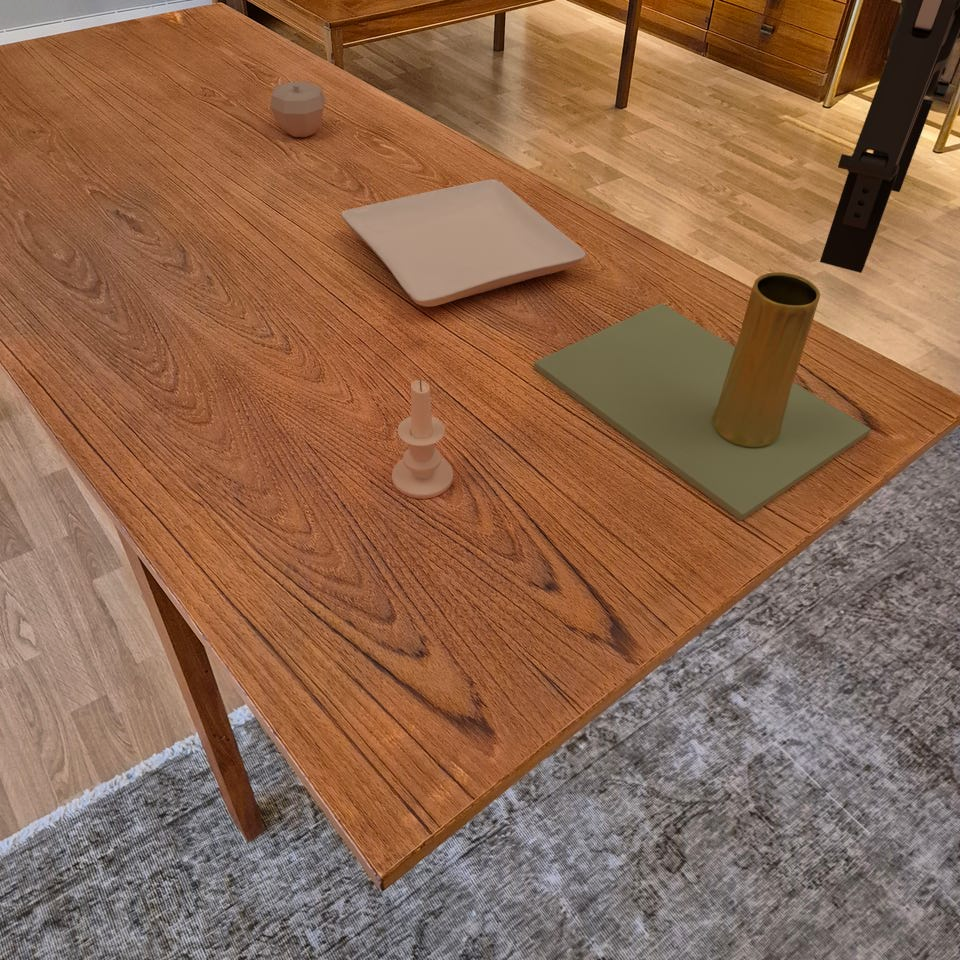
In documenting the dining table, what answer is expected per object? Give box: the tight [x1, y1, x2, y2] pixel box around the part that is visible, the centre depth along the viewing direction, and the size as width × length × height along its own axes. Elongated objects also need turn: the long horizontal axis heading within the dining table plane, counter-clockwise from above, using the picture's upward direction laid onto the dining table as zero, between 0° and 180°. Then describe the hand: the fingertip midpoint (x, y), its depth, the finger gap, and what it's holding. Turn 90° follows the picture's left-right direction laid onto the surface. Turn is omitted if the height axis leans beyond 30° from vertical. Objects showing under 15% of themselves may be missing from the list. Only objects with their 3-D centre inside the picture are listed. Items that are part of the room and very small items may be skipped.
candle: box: [391, 379, 454, 500], centre depth 72 cm, size 5×5×10 cm
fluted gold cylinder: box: [712, 271, 821, 447], centre depth 75 cm, size 6×6×14 cm
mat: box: [533, 302, 872, 522], centre depth 84 cm, size 26×18×1 cm
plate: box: [340, 178, 587, 308], centre depth 101 cm, size 21×21×3 cm
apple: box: [269, 81, 326, 138], centre depth 124 cm, size 8×8×7 cm
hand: (862, 223), depth 63 cm, fingers open, 13 cm apart
